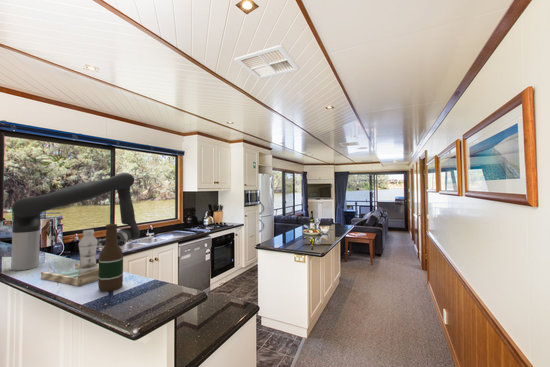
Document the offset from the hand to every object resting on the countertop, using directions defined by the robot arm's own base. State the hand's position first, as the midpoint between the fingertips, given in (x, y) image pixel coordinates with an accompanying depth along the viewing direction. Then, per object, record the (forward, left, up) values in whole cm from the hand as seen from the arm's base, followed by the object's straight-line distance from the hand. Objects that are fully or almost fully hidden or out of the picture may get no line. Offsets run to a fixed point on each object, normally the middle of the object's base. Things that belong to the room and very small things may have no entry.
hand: (100, 246), depth 114 cm
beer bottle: (+24, -13, -11) cm, 29 cm away
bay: (-1, -9, -11) cm, 14 cm away
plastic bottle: (+5, -9, -11) cm, 15 cm away
